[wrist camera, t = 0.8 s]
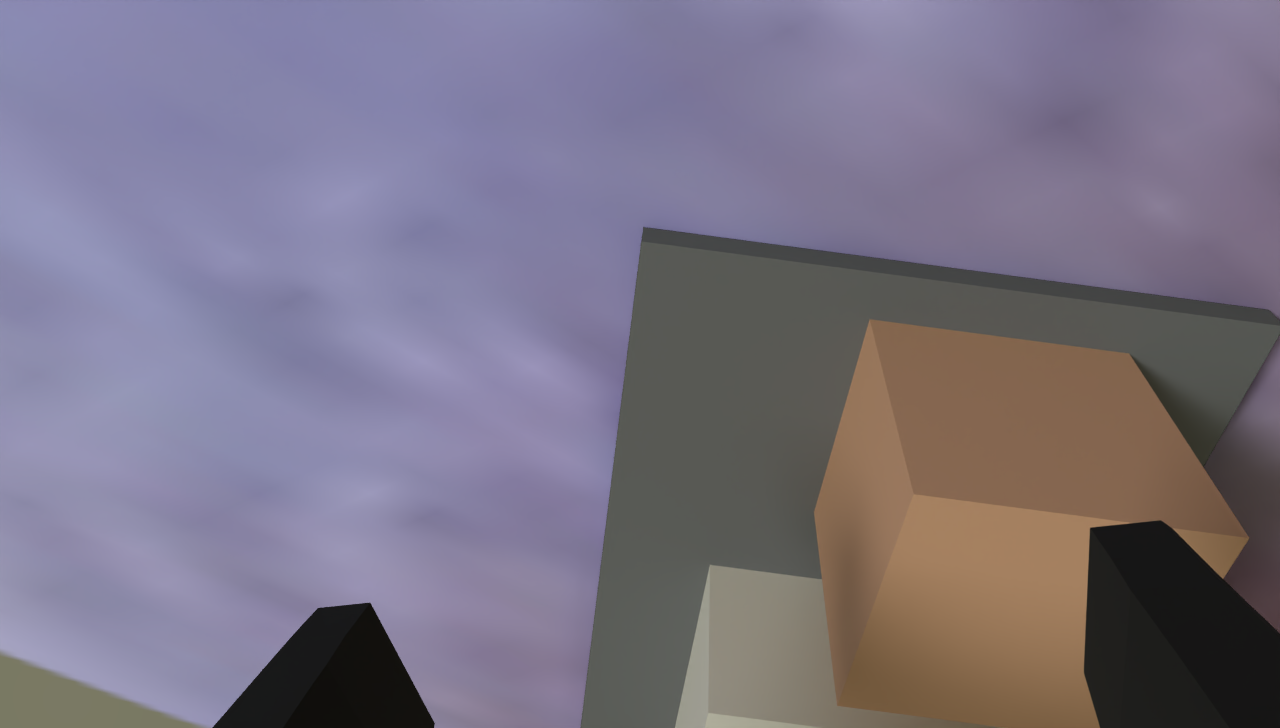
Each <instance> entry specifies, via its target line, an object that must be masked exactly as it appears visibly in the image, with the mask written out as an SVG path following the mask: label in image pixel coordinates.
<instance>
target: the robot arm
mask: <svg viewBox="0 0 1280 728" xmlns="http://www.w3.org/2000/svg"><path fill="white" fill-rule="evenodd" d="M1084 675H1085V678H1086V682H1087V685H1088V689H1089V692H1090V695H1091V699H1092V702H1093V705H1094V709H1095V712H1096V716H1097V719H1098V722H1099V726H1100V728H1280V633H1279V632H1278V631H1277V630H1276V629H1274V628H1273V627H1272V626H1271V625H1270V624H1269V623H1268V622H1267V621H1266V620H1265V619H1264V618H1263V617H1262V616H1261V615H1260V614H1259V613H1258V612H1257V611H1256V610H1254V609H1253V608H1252V607H1251V606H1250V605H1249V604H1248V603H1247V602H1246V601H1245V600H1244V599H1243V598H1242V597H1241V596H1240V595H1239V594H1238V593H1237V592H1236V591H1235V590H1234V589H1233V588H1232V587H1231V586H1230V585H1229V584H1228V583H1227V582H1226V581H1225V580H1224V579H1223V578H1222V577H1221V576H1219V575H1218V574H1217V573H1216V572H1215V571H1214V570H1213V569H1212V568H1211V567H1210V566H1209V565H1208V564H1207V563H1206V562H1205V561H1204V560H1203V559H1202V558H1201V557H1200V556H1199V555H1198V554H1197V553H1196V552H1195V551H1194V550H1193V549H1192V548H1191V547H1190V546H1189V545H1188V544H1187V543H1186V542H1185V541H1184V540H1183V539H1182V538H1181V537H1180V535H1179V534H1178V533H1177V532H1176V531H1175V530H1174V529H1173V528H1171V527H1170V526H1168V525H1167V524H1166V523H1164V522H1163V521H1161V520H1158V521H1148V522H1139V523H1129V524H1120V525H1110V526H1101V527H1091V528H1090V539H1089V562H1088V584H1087V607H1086V630H1085V653H1084ZM434 724H435V723H434V721H433V719H432V718H431V716H430V714H429V712H428V710H427V708H426V706H425V704H424V703H423V701H422V699H421V697H420V695H419V693H418V691H417V689H416V688H415V686H414V684H413V682H412V680H411V678H410V676H409V674H408V673H407V671H406V669H405V667H404V665H403V663H402V661H401V659H400V658H399V656H398V654H397V652H396V650H395V648H394V646H393V645H392V643H391V641H390V639H389V637H388V635H387V633H386V631H385V630H384V628H383V626H382V624H381V622H380V620H379V618H378V616H377V615H376V613H375V611H374V609H373V607H372V605H371V603H363V604H353V605H343V606H334V607H324V608H318V609H317V610H316V611H315V612H314V613H313V614H312V615H311V616H310V617H309V618H308V619H307V620H306V622H305V623H304V624H303V625H302V626H301V627H300V628H299V629H298V630H297V631H296V632H295V634H294V635H293V636H292V637H291V638H290V639H289V640H288V641H287V643H286V644H285V645H284V646H283V647H282V648H281V649H280V651H279V652H278V653H277V654H276V655H275V656H274V657H273V659H272V660H271V661H270V662H269V663H268V664H267V665H266V667H265V668H264V669H263V670H262V671H261V672H260V674H259V675H258V676H257V677H256V678H255V679H254V680H253V682H252V683H251V684H250V685H249V686H248V687H247V689H246V690H245V691H244V692H243V693H242V694H241V696H240V697H239V698H238V699H237V700H236V701H235V702H234V704H233V705H232V706H231V707H230V708H229V709H228V711H227V712H226V713H225V714H224V715H223V716H222V717H221V719H220V720H219V721H218V722H217V723H216V724H215V725H214V727H213V728H434Z"/></svg>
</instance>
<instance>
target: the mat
mask: <svg viewBox="0 0 1280 728" xmlns="http://www.w3.org/2000/svg"><path fill="white" fill-rule="evenodd" d="M870 319H871V320H879V321H887V322H894V323H902V324H909V325H917V326H924V327H932V328H940V329H947V330H955V331H962V332H970V333H977V334H985V335H993V336H1000V337H1008V338H1015V339H1023V340H1030V341H1038V342H1046V343H1053V344H1061V345H1068V346H1076V347H1083V348H1091V349H1099V350H1106V351H1114V352H1121V353H1129V354H1130V356H1131V357H1132V359H1133V360H1134V362H1135V363H1136V365H1137V366H1138V368H1139V369H1140V371H1141V372H1142V374H1143V375H1144V377H1145V379H1146V380H1147V382H1148V383H1149V385H1150V386H1151V388H1152V389H1153V391H1154V392H1155V394H1156V395H1157V397H1158V399H1159V400H1160V402H1161V403H1162V405H1163V406H1164V408H1165V409H1166V411H1167V412H1168V414H1169V415H1170V417H1171V419H1172V420H1173V422H1174V423H1175V425H1176V426H1177V428H1178V429H1179V431H1180V432H1181V434H1182V435H1183V437H1184V438H1185V440H1186V442H1187V443H1188V445H1189V446H1190V448H1191V449H1192V451H1193V452H1194V454H1195V455H1196V457H1197V458H1198V460H1199V462H1200V463H1201V465H1202V466H1203V467H1204V465H1205V463H1206V461H1207V460H1208V458H1209V456H1210V454H1211V453H1212V451H1213V449H1214V447H1215V446H1216V444H1217V442H1218V440H1219V439H1220V437H1221V435H1222V434H1223V432H1224V430H1225V428H1226V427H1227V425H1228V423H1229V421H1230V420H1231V418H1232V416H1233V414H1234V413H1235V411H1236V409H1237V407H1238V406H1239V404H1240V402H1241V401H1242V399H1243V397H1244V395H1245V394H1246V392H1247V390H1248V388H1249V387H1250V385H1251V383H1252V381H1253V380H1254V378H1255V376H1256V375H1257V373H1258V371H1259V369H1260V368H1261V366H1262V364H1263V362H1264V361H1265V359H1266V357H1267V355H1268V354H1269V352H1270V350H1271V348H1272V347H1273V345H1274V343H1275V342H1276V340H1277V338H1278V336H1279V335H1280V321H1279V320H1278V319H1277V318H1276V317H1275V316H1274V315H1273V314H1272V313H1271V312H1270V311H1269V310H1265V309H1258V308H1250V307H1243V306H1235V305H1227V304H1220V303H1212V302H1205V301H1197V300H1190V299H1182V298H1175V297H1167V296H1159V295H1152V294H1144V293H1137V292H1129V291H1122V290H1114V289H1107V288H1099V287H1091V286H1084V285H1076V284H1069V283H1061V282H1054V281H1046V280H1038V279H1031V278H1023V277H1016V276H1008V275H1001V274H993V273H986V272H978V271H970V270H963V269H955V268H948V267H940V266H933V265H925V264H918V263H910V262H902V261H895V260H887V259H880V258H872V257H865V256H857V255H850V254H842V253H834V252H827V251H819V250H812V249H804V248H797V247H789V246H781V245H774V244H766V243H759V242H751V241H744V240H736V239H729V238H721V237H713V236H706V235H698V234H691V233H683V232H676V231H668V230H661V229H653V228H645V227H643V234H642V241H641V248H640V256H639V264H638V272H637V280H636V288H635V296H634V304H633V312H632V320H631V328H630V336H629V344H628V352H627V360H626V368H625V376H624V384H623V392H622V400H621V408H620V416H619V424H618V432H617V440H616V448H615V456H614V464H613V472H612V480H611V488H610V496H609V504H608V512H607V520H606V528H605V536H604V544H603V552H602V560H601V568H600V576H599V584H598V592H597V600H596V608H595V616H594V624H593V632H592V641H591V649H590V657H589V665H588V673H587V681H586V689H585V697H584V705H583V713H582V721H581V728H675V725H676V720H677V716H678V711H679V706H680V702H681V697H682V692H683V688H684V683H685V678H686V674H687V669H688V664H689V660H690V655H691V651H692V646H693V641H694V637H695V632H696V627H697V623H698V618H699V613H700V609H701V604H702V599H703V595H704V590H705V585H706V581H707V576H708V571H709V567H710V565H715V566H723V567H731V568H738V569H746V570H754V571H761V572H769V573H777V574H784V575H792V576H800V577H807V578H815V579H822V575H821V567H820V559H819V550H818V542H817V534H816V525H815V517H814V511H815V507H816V504H817V500H818V497H819V493H820V490H821V486H822V483H823V479H824V476H825V472H826V469H827V465H828V462H829V459H830V455H831V452H832V448H833V445H834V441H835V438H836V434H837V431H838V427H839V424H840V420H841V417H842V413H843V410H844V407H845V403H846V400H847V396H848V393H849V389H850V386H851V382H852V379H853V375H854V372H855V368H856V365H857V361H858V358H859V354H860V351H861V348H862V344H863V341H864V337H865V334H866V330H867V327H868V323H869V320H870Z"/></svg>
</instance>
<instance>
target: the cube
mask: <svg viewBox="0 0 1280 728" xmlns="http://www.w3.org/2000/svg"><path fill="white" fill-rule="evenodd" d="M814 517H815V525H816V534H817V542H818V550H819V559H820V567H821V575H822V584H823V592H824V600H825V609H826V617H827V625H828V634H829V642H830V651H831V659H832V667H833V676H834V684H835V692H836V701H837V706H842V707H850V708H858V709H865V710H873V711H881V712H888V713H896V714H904V715H912V716H919V717H927V718H935V719H942V720H950V721H958V722H965V723H973V724H981V725H988V726H996V727H1004V728H1100V726H1099V722H1098V719H1097V716H1096V712H1095V709H1094V705H1093V702H1092V699H1091V695H1090V692H1089V689H1088V685H1087V682H1086V678H1085V675H1084V653H1085V630H1086V607H1087V584H1088V562H1089V539H1090V528H1091V527H1101V526H1110V525H1120V524H1129V523H1139V522H1148V521H1158V520H1161V521H1163V522H1164V523H1166V524H1167V525H1168V526H1170V527H1171V528H1173V529H1174V530H1175V531H1176V532H1177V533H1178V534H1179V535H1180V537H1181V538H1182V539H1183V540H1184V541H1185V542H1186V543H1187V544H1188V545H1189V546H1190V547H1191V548H1192V549H1193V550H1194V551H1195V552H1196V553H1197V554H1198V555H1199V556H1200V557H1201V558H1202V559H1203V560H1204V561H1205V562H1206V563H1207V564H1208V565H1209V566H1210V567H1211V568H1212V569H1213V570H1214V571H1215V572H1216V573H1217V574H1218V575H1219V576H1221V577H1222V578H1224V577H1225V575H1226V574H1227V572H1228V571H1229V569H1230V568H1231V566H1232V564H1233V563H1234V561H1235V560H1236V558H1237V557H1238V555H1239V554H1240V552H1241V550H1242V549H1243V547H1244V546H1245V544H1246V543H1247V541H1248V540H1249V537H1248V535H1247V534H1246V532H1245V531H1244V529H1243V528H1242V526H1241V525H1240V523H1239V521H1238V520H1237V518H1236V517H1235V515H1234V514H1233V512H1232V511H1231V509H1230V508H1229V506H1228V505H1227V503H1226V501H1225V500H1224V498H1223V497H1222V495H1221V494H1220V492H1219V491H1218V489H1217V488H1216V486H1215V485H1214V483H1213V482H1212V480H1211V478H1210V477H1209V475H1208V474H1207V472H1206V471H1205V469H1204V468H1203V466H1202V465H1201V463H1200V462H1199V460H1198V458H1197V457H1196V455H1195V454H1194V452H1193V451H1192V449H1191V448H1190V446H1189V445H1188V443H1187V442H1186V440H1185V438H1184V437H1183V435H1182V434H1181V432H1180V431H1179V429H1178V428H1177V426H1176V425H1175V423H1174V422H1173V420H1172V419H1171V417H1170V415H1169V414H1168V412H1167V411H1166V409H1165V408H1164V406H1163V405H1162V403H1161V402H1160V400H1159V399H1158V397H1157V395H1156V394H1155V392H1154V391H1153V389H1152V388H1151V386H1150V385H1149V383H1148V382H1147V380H1146V379H1145V377H1144V375H1143V374H1142V372H1141V371H1140V369H1139V368H1138V366H1137V365H1136V363H1135V362H1134V360H1133V359H1132V357H1131V356H1130V354H1129V353H1121V352H1114V351H1106V350H1099V349H1091V348H1083V347H1076V346H1068V345H1061V344H1053V343H1046V342H1038V341H1030V340H1023V339H1015V338H1008V337H1000V336H993V335H985V334H977V333H970V332H962V331H955V330H947V329H940V328H932V327H924V326H917V325H909V324H902V323H894V322H887V321H879V320H871V319H870V320H869V323H868V327H867V330H866V334H865V337H864V341H863V344H862V348H861V351H860V354H859V358H858V361H857V365H856V368H855V372H854V375H853V379H852V382H851V386H850V389H849V393H848V396H847V400H846V403H845V407H844V410H843V413H842V417H841V420H840V424H839V427H838V431H837V434H836V438H835V441H834V445H833V448H832V452H831V455H830V459H829V462H828V465H827V469H826V472H825V476H824V479H823V483H822V486H821V490H820V493H819V497H818V500H817V504H816V507H815V511H814Z"/></svg>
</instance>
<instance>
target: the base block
mask: <svg viewBox="0 0 1280 728" xmlns="http://www.w3.org/2000/svg"><path fill="white" fill-rule="evenodd" d="M675 728H1004V727H996V726H988V725H981V724H973V723H965V722H958V721H950V720H942V719H935V718H927V717H919V716H912V715H904V714H896V713H888V712H881V711H873V710H865V709H858V708H850V707H842V706H837V701H836V692H835V684H834V676H833V667H832V659H831V651H830V642H829V634H828V625H827V617H826V609H825V600H824V592H823V584H822V579H815V578H807V577H800V576H792V575H784V574H777V573H769V572H761V571H754V570H746V569H738V568H731V567H723V566H715V565H710V567H709V571H708V576H707V581H706V585H705V590H704V595H703V599H702V604H701V609H700V613H699V618H698V623H697V627H696V632H695V637H694V641H693V646H692V651H691V655H690V660H689V664H688V669H687V674H686V678H685V683H684V688H683V692H682V697H681V702H680V706H679V711H678V716H677V720H676V725H675Z"/></svg>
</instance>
